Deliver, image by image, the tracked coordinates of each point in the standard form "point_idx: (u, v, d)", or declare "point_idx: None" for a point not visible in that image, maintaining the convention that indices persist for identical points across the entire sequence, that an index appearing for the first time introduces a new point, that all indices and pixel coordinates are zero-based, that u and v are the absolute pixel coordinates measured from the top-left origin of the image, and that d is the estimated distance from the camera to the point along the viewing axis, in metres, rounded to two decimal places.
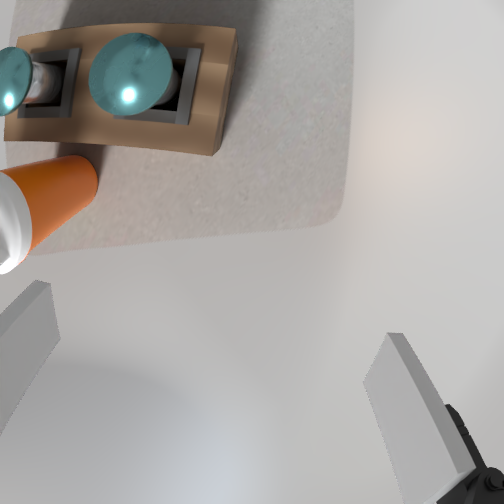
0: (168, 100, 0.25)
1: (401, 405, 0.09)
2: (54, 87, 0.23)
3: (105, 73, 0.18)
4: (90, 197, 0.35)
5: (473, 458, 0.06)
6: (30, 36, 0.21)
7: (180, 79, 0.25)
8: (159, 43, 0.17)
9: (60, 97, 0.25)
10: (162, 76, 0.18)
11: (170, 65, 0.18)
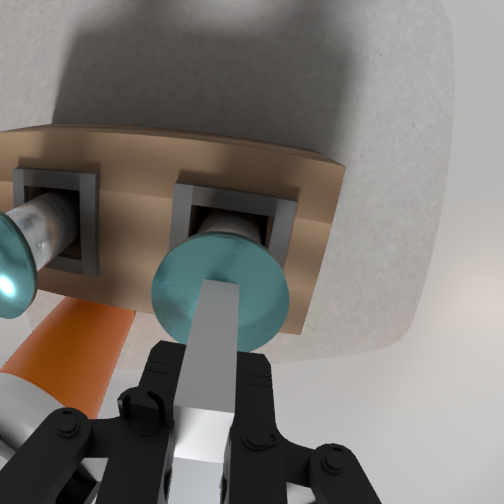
0: None
1: None
2: (68, 237, 0.18)
3: (180, 298, 0.14)
4: None
5: (261, 411, 0.08)
6: (13, 135, 0.16)
7: None
8: (272, 264, 0.13)
9: None
10: (277, 314, 0.14)
11: (288, 297, 0.14)
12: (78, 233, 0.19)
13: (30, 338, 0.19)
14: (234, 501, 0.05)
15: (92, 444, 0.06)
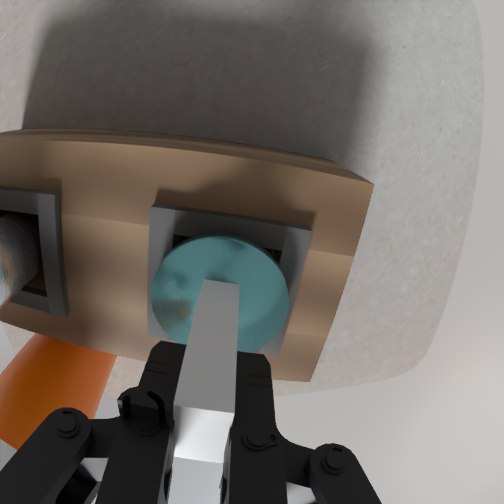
0: None
1: None
2: (28, 272, 0.14)
3: (180, 300, 0.14)
4: None
5: (261, 412, 0.08)
6: None
7: None
8: (272, 265, 0.13)
9: (42, 268, 0.16)
10: (276, 316, 0.14)
11: None
12: (42, 264, 0.15)
13: (0, 379, 0.15)
14: (234, 501, 0.05)
15: (92, 444, 0.06)
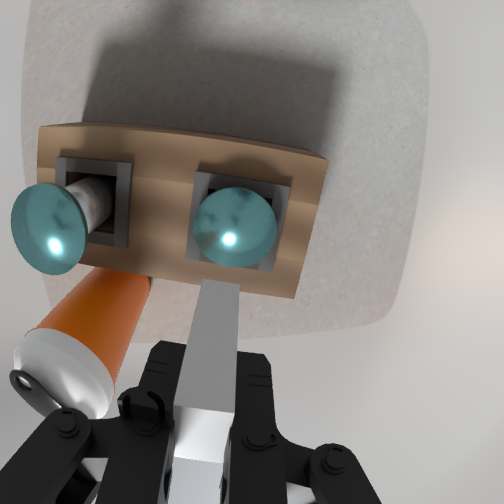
0: None
1: None
2: (105, 214, 0.23)
3: (211, 226, 0.23)
4: None
5: (261, 411, 0.08)
6: (56, 129, 0.21)
7: None
8: (266, 204, 0.22)
9: (109, 216, 0.25)
10: (269, 237, 0.23)
11: None
12: (111, 212, 0.24)
13: (62, 303, 0.24)
14: (234, 501, 0.05)
15: (92, 444, 0.06)
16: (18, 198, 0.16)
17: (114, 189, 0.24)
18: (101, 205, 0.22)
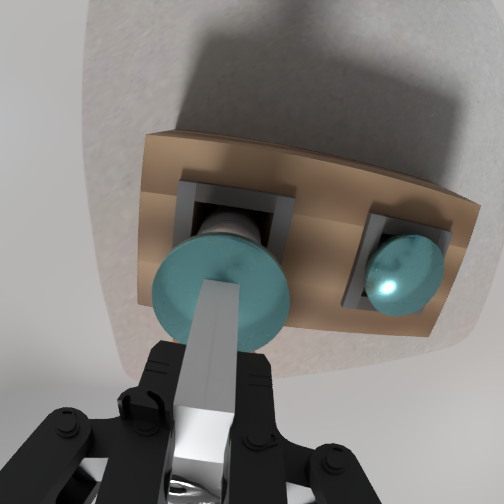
0: None
1: None
2: None
3: (387, 276, 0.20)
4: None
5: (261, 412, 0.08)
6: (176, 141, 0.18)
7: None
8: (440, 253, 0.19)
9: None
10: (435, 284, 0.20)
11: None
12: None
13: None
14: (234, 501, 0.05)
15: (92, 444, 0.06)
16: (173, 255, 0.13)
17: (258, 226, 0.21)
18: None
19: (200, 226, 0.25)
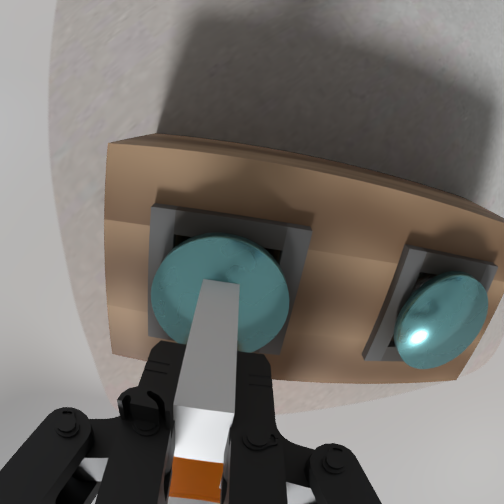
0: None
1: None
2: None
3: (423, 327, 0.14)
4: None
5: (261, 412, 0.08)
6: (148, 151, 0.13)
7: None
8: (485, 294, 0.14)
9: None
10: (475, 330, 0.15)
11: None
12: None
13: None
14: (234, 501, 0.05)
15: (92, 444, 0.06)
16: (173, 256, 0.13)
17: None
18: None
19: None
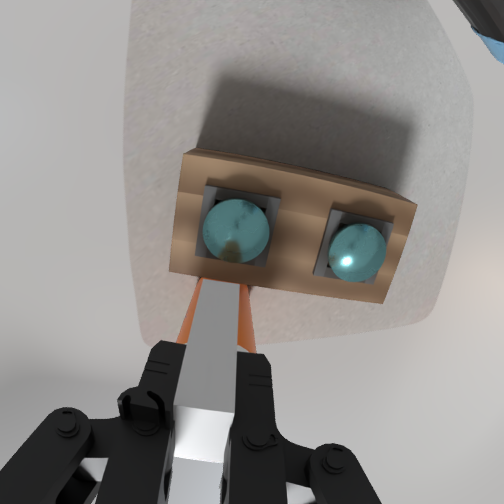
0: None
1: None
2: None
3: (343, 252, 0.30)
4: None
5: (261, 412, 0.08)
6: (204, 159, 0.28)
7: None
8: (382, 237, 0.30)
9: None
10: (380, 260, 0.30)
11: None
12: None
13: None
14: (234, 501, 0.05)
15: (92, 444, 0.06)
16: (216, 207, 0.28)
17: None
18: None
19: None
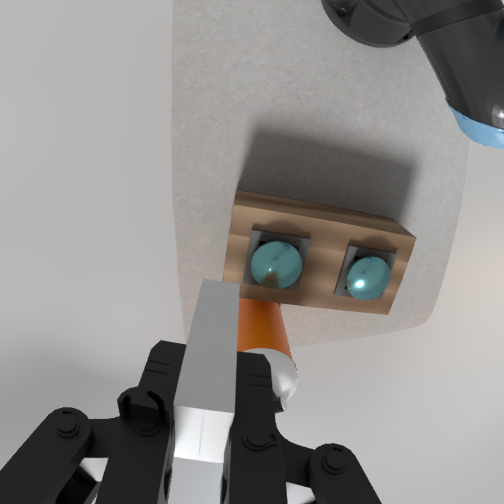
0: None
1: None
2: None
3: (357, 278, 0.38)
4: None
5: (261, 411, 0.08)
6: (250, 209, 0.37)
7: None
8: (387, 266, 0.38)
9: None
10: (386, 283, 0.39)
11: None
12: None
13: (249, 328, 0.40)
14: (234, 501, 0.05)
15: (92, 444, 0.06)
16: (262, 248, 0.37)
17: None
18: None
19: None
